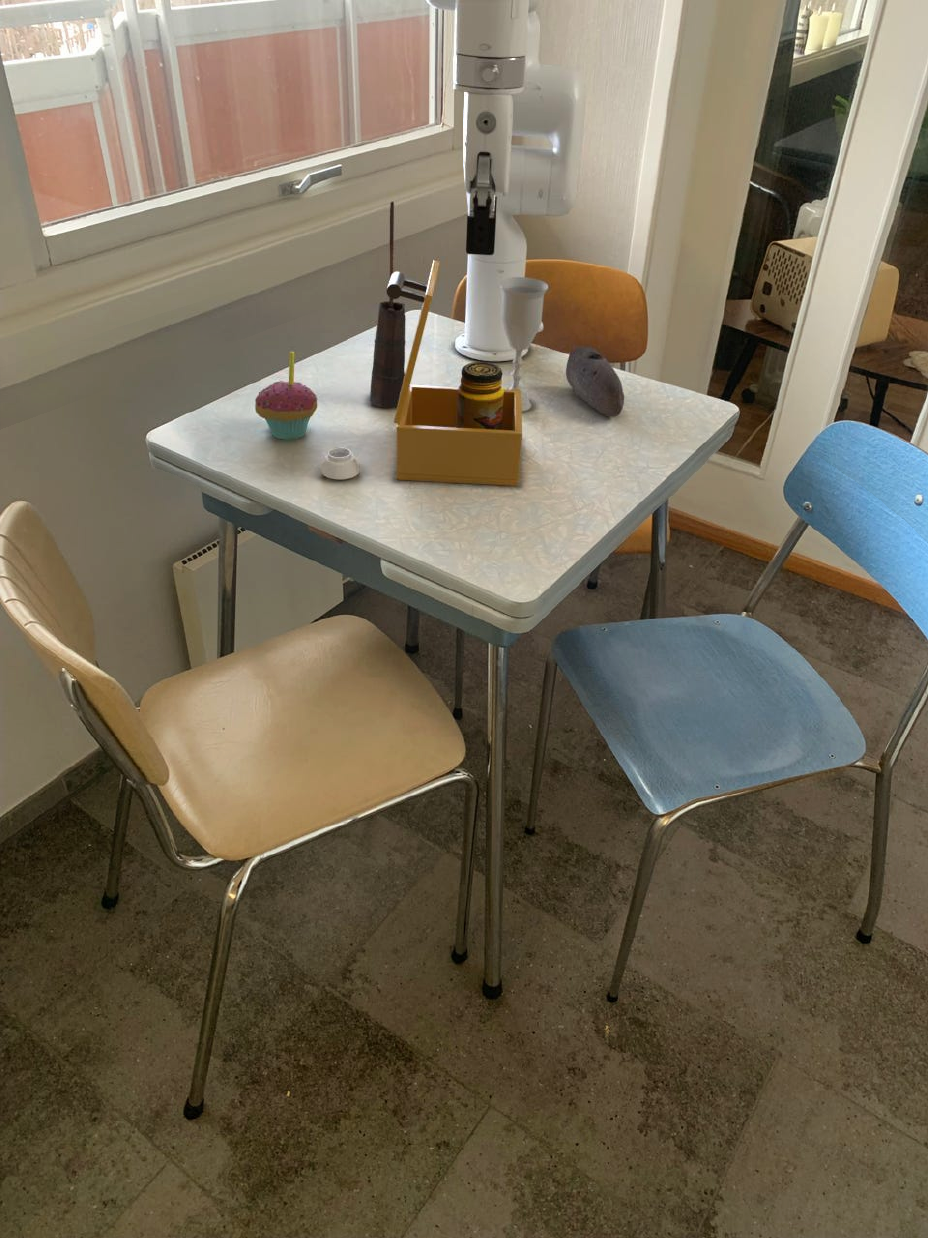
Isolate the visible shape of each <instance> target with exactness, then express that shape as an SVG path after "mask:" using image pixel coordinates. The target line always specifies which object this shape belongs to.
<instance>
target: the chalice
mask: <svg viewBox="0 0 928 1238" xmlns="http://www.w3.org/2000/svg"><path fill="white" fill-rule="evenodd" d="M500 286H501V289H502V292H503V295H502V311H501V321H502V325H503V329H504V332H505V335H506V337H507V340H508V342H509V345H510V347H511V348H513V349H515V353H516V355H515V358H514V359H513V360H512V363H513V368H514V369H513V371H512V372H511V373H510V374H511V376H512V379H513V382H512V384H511V386H509V387H507V388H506V389H508V390H521V407H522V412H525V411H528V410H530V409H531V407H532V404H531V402H530V398H529V396H528V392H527V391H526V389H525V388H522V386H521V384H520V381H521V377H522V376H523V375H524V374H523V373H522V370H521V368H522V365H524V361H523V356H521V354H522V351H523V350H525V349H527V348H528V349H529V347H530V346H531V344H532V342H533V340H534V339H535V337H536V336H537V334H538V332H537V331H538V329H539V326H540V324H541V322H542V323H543V321H542V320H543V307H544V298H545V294H546V293H547V291H548V289H549V285H548V284H547V283H546V282H545V281H543V280H540V279H538V278H533V277H527V276H525V277H510V278H506V279H503V280H501V281H500Z"/></svg>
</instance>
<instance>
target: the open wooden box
mask: <svg viewBox="0 0 928 1238" xmlns="http://www.w3.org/2000/svg"><path fill="white" fill-rule="evenodd" d="M458 388H459V386H450V385H449V386H447V385H431V384H430V385H429V384H413V383H410V387H409V391H408V394H407V398H406V402H405V406H404V410H403V414H402V418H401V422H400V424H396V480H398V481H416V482H435V483H452V484H454V483H455V484H472V485H473V484H475V485H492V486H508V487H509V486H511V487H512V486H513V487H518V486H519V479H520V478H519V477H520V468H521V467H520V466H521V453H522V443H523V442H522V441H523V413H522V412H523V411H522V407H521V390H508V389H507V388H504V389H503V388H502V389H503V391H504V398H503V413H502V427H501V430H492V429H473V428H456V423H457V399H458Z"/></svg>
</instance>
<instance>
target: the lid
mask: <svg viewBox="0 0 928 1238" xmlns="http://www.w3.org/2000/svg"><path fill="white" fill-rule="evenodd" d="M440 263H441V262H440V261H439V260H434V259H433V261H432V264H431V268H430V272H429V276H428V281H427V284H425V283H421V282H417V281H414V280H411V279H407V278H406V276H405V275H404V273H402V272H400V271H394V272H393V274H392V275H391V278H390V277H389V282H388V284H387V287H386V295H387V297H388V298H391V299H393V300H398V299H399V298H400V297H403V298H406V299H409V300H413V301H416V302H420V303H422V305H421V307H420V308H421V309H420V312H419V317H418V321H417V325H416V329H415V333H414V336H413V341H412V344H411V349H410V353H409V357H408V361H407V365H406V369H405V376H404V380H403V385H402V389H401V393H400V398H399V402H398V406H396V411H395V415H394V420H393V424H395V425H397V424H400V422H401V418H402V414H403V410H404V406H405V402H406V398H407V394H408V391H409V387H410V384H412V383H411V382H412V378H413V375H414V371H415V367H416V362H417V359H418V355H419V352H420V347H421V343H422V340H423V336H424V331H425V328H426V325H427V324H426V323H427V321H428V315H429V312H430V308H431V305H432V301H433V296H434V292H435V286H436V282H437V276H438V273H439V268H440V267H439V266H440ZM404 287H405V288H410V289H414V290H417V291H420V292H424V294H421V293H417V292H414V291H411V290H407V289H404Z"/></svg>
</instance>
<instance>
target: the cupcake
mask: <svg viewBox="0 0 928 1238" xmlns="http://www.w3.org/2000/svg"><path fill="white" fill-rule="evenodd" d="M288 360H289V361H288V381H283V380H279V381H275V382H273V383H272V384H269V385H268V386H266V387H265V388H263V389H262V390H260V391H259V392H258V394H257V396H256V398H255V405H254V406H255V407H254V408H255V410H254V411H255V413H256V414H258V416H259V417H260V418H262V419H264V420H265V421H266V423H267V426H268V428H269V430H270V433H271V435H272V436H273V437H274V438H276V439H278V440H283V441H284V440H285V441H291V440H298V439H300V438H302V437H304V436H305V434H307V430H308V426H309V422H310V419H311V417H312V416H313V415H314V414H315V412H316V411H317V409H318V398H317V395H316V394H315V392H314V391H313V390H312V389H311V388H310V387H307V384H306V385H305V384H304V385H303V384H302V383H301V382H295V351H294V345H291V351H289V358H288Z"/></svg>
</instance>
